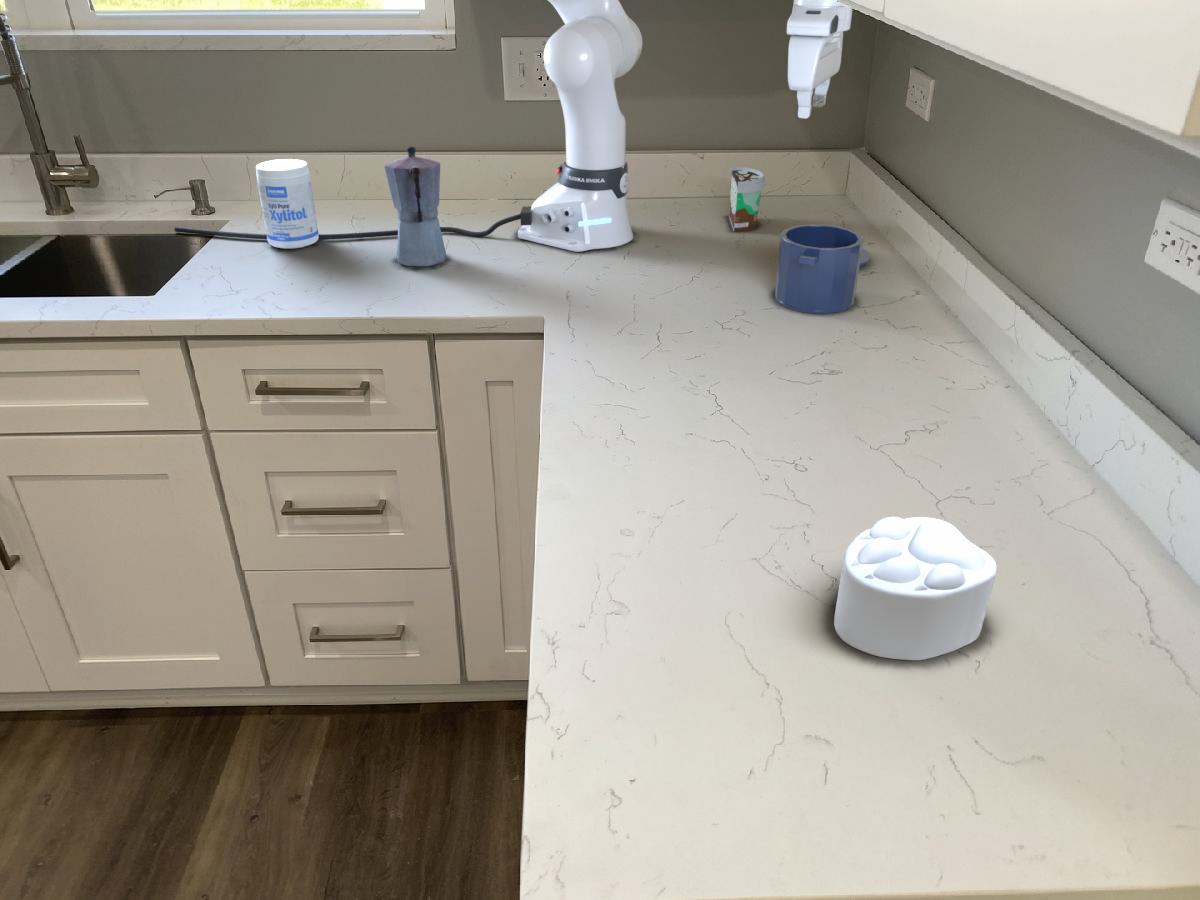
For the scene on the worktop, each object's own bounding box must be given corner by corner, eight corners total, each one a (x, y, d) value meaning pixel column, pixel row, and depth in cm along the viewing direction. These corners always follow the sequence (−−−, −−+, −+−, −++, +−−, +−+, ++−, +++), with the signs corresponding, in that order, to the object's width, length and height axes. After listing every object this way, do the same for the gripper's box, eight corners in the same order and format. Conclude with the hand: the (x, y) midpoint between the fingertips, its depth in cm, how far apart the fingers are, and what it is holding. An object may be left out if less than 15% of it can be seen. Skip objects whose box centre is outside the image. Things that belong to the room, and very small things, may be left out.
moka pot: (442, 245, 176) (432, 137, 165) (457, 272, 163) (447, 156, 153) (391, 250, 173) (378, 141, 163) (403, 278, 160) (389, 161, 150)
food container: (766, 233, 181) (770, 182, 175) (734, 233, 181) (738, 182, 175) (757, 215, 191) (761, 166, 186) (728, 215, 191) (731, 166, 186)
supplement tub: (275, 253, 172) (260, 173, 165) (262, 239, 179) (247, 162, 172) (327, 244, 176) (314, 166, 169) (312, 231, 183) (299, 155, 176)
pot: (761, 312, 147) (767, 248, 141) (790, 275, 161) (797, 216, 155) (840, 325, 142) (849, 259, 137) (863, 286, 156) (872, 225, 151)
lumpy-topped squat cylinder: (997, 636, 83) (1019, 559, 78) (876, 676, 78) (892, 597, 74) (921, 569, 91) (937, 496, 86) (808, 602, 87) (819, 527, 82)
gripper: (817, 9, 149) (807, 99, 157) (783, 23, 134) (775, 122, 141) (856, 10, 147) (845, 101, 154) (827, 25, 131) (816, 126, 138)
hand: (811, 111), depth 147 cm, fingers open, 8 cm apart
